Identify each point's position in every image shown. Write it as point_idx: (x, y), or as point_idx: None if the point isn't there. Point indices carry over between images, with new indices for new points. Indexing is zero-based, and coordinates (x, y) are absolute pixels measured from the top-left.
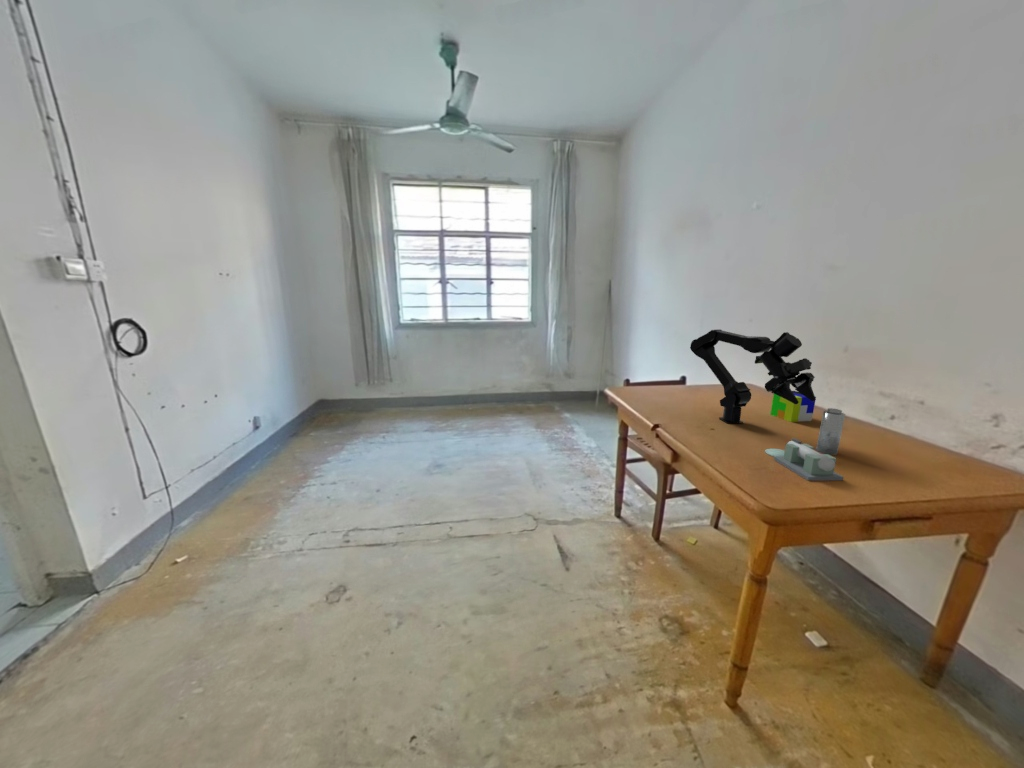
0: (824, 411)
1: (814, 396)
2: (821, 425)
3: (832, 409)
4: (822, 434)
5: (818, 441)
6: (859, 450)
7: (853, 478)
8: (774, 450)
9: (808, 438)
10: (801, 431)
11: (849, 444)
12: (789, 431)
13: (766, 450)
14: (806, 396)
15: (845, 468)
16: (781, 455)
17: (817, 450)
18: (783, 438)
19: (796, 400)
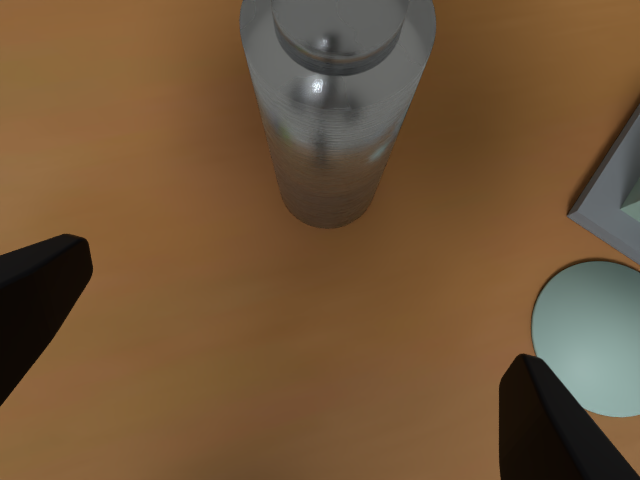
0: (361, 96)
1: (18, 254)
2: (372, 160)
3: (340, 11)
4: (384, 165)
5: (361, 203)
6: (162, 81)
7: (611, 23)
8: (588, 375)
9: (147, 317)
10: (9, 398)
11: (86, 134)
12: (74, 456)
13: (634, 408)
14: (3, 388)
15: (513, 67)
16: (635, 317)
17: (361, 214)
18: (281, 426)
19: (566, 391)
